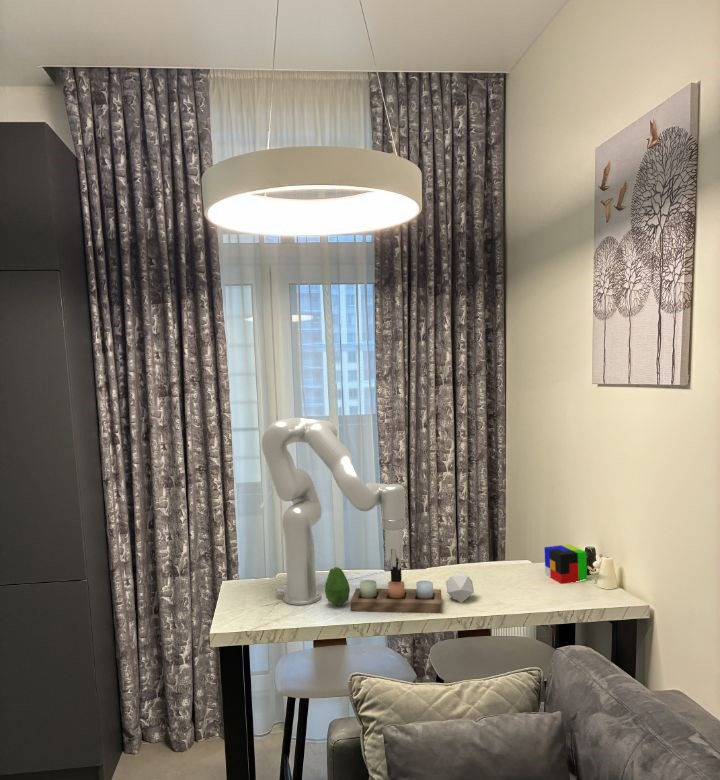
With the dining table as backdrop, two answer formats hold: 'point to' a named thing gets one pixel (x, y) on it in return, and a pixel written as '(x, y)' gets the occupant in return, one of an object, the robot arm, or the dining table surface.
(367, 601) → the board
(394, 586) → the button terracotta
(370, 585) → the button sage
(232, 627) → the dining table surface
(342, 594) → the avocado
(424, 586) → the button blue
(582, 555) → the puzzle toy
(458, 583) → the die
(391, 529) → the robot arm
